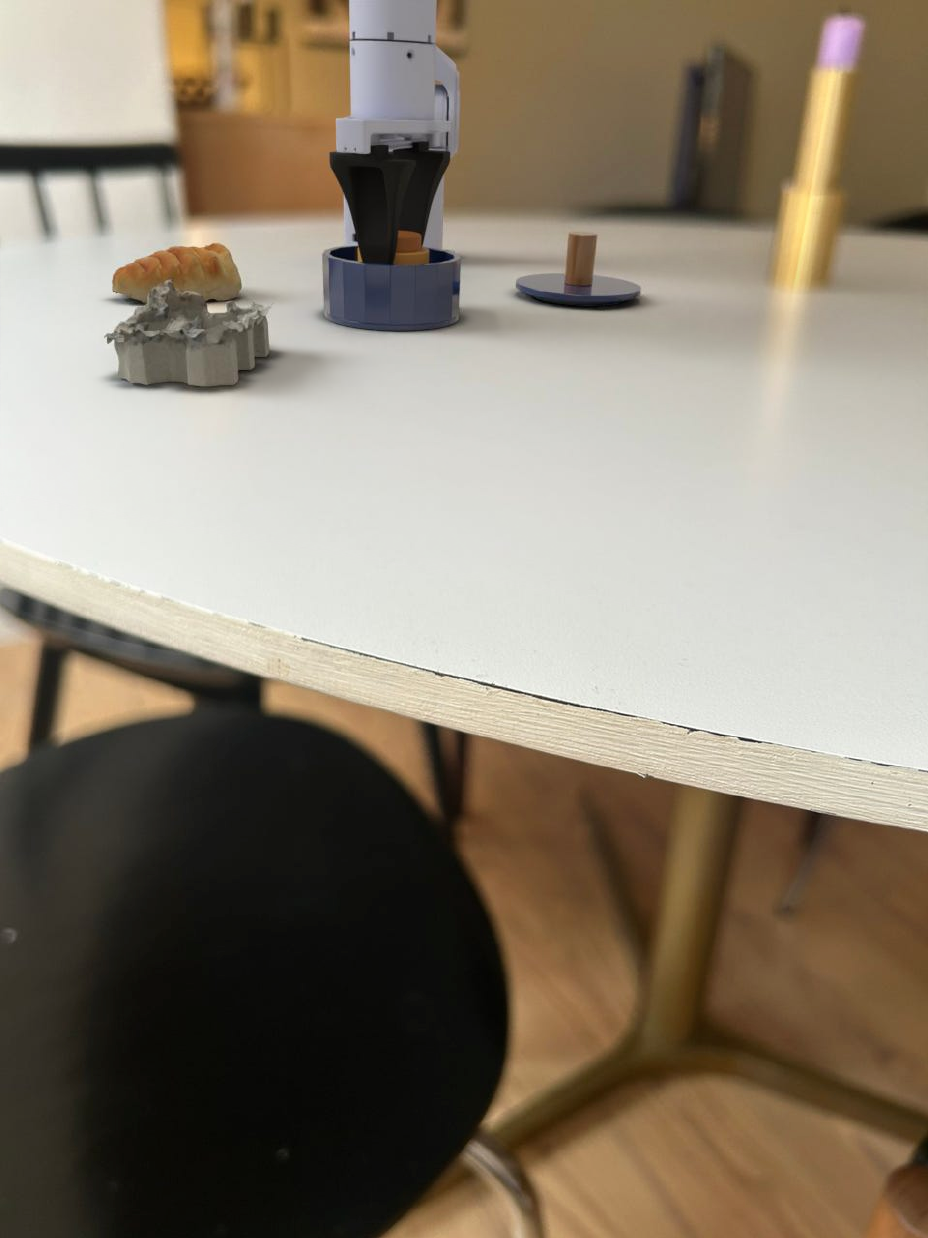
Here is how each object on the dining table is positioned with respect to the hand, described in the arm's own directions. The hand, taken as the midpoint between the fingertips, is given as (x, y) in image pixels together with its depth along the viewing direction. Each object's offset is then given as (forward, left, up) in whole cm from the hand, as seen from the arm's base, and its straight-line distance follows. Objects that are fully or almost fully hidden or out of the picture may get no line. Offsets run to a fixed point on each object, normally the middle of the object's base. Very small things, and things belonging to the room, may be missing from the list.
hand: (392, 259), depth 70 cm
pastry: (-17, -1, -4) cm, 18 cm away
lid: (+11, +15, -3) cm, 19 cm away
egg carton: (-5, -19, -4) cm, 20 cm away
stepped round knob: (0, 0, -1) cm, 1 cm away
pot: (0, 0, -4) cm, 4 cm away
